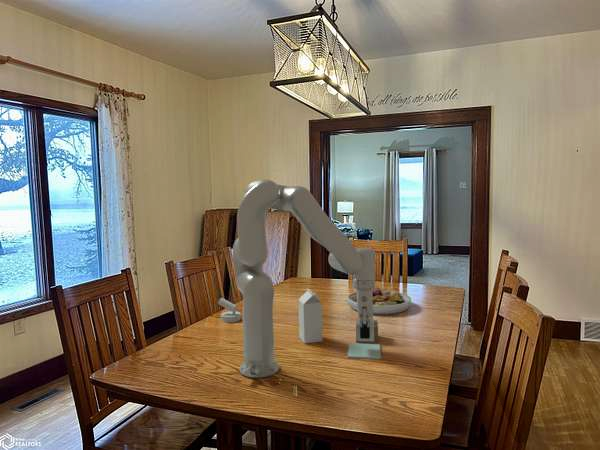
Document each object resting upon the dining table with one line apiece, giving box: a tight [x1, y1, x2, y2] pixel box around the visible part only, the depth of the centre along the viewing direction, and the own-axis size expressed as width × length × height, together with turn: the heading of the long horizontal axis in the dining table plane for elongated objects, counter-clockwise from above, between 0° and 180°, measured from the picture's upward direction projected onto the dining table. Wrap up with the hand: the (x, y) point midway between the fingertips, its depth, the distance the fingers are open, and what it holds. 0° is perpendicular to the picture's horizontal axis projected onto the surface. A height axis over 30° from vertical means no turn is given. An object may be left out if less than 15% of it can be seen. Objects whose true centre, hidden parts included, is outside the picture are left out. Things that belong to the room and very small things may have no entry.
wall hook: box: [217, 297, 242, 324], centre depth 186 cm, size 9×10×10 cm
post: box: [355, 319, 379, 344], centre depth 159 cm, size 8×8×15 cm
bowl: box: [346, 286, 412, 316], centre depth 201 cm, size 30×30×8 cm
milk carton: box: [298, 288, 324, 344], centre depth 159 cm, size 7×7×19 cm
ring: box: [355, 318, 375, 342], centre depth 146 cm, size 6×6×6 cm
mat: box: [347, 342, 382, 360], centre depth 146 cm, size 12×11×1 cm
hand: (364, 334), depth 146 cm, fingers closed on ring, 6 cm apart
